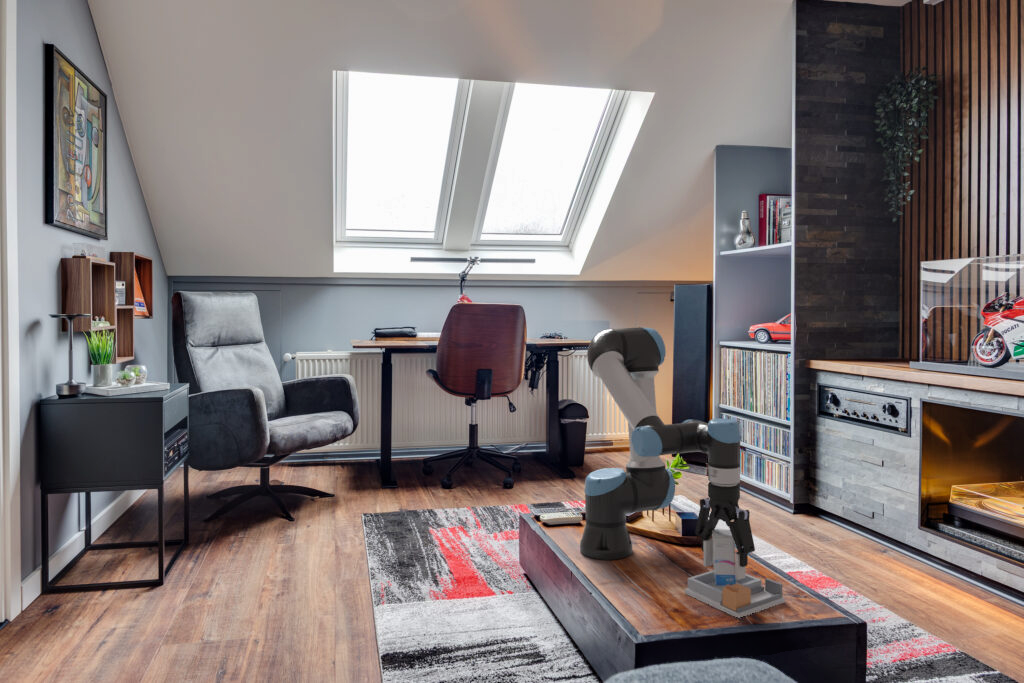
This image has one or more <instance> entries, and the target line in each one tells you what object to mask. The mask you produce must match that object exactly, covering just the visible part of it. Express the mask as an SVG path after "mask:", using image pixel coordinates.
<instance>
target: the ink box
mask: <svg viewBox="0 0 1024 683" xmlns="http://www.w3.org/2000/svg"><path fill="white" fill-rule="evenodd" d="M711 537H712V538H711V539H712V540H713V565H712V566H713V570H714V578H715V583H716V586H726V585H727V584H729V585H734V584H736V579H735V553H736V552H735V549H736V548H735V542H734V539H733V537H732V534H731V531H730V529H721V528H720V529H719V528H717V529H716V528H715V529H714V530H712V535H711Z"/></svg>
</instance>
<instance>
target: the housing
mask: <svg viewBox="0 0 1024 683" xmlns="http://www.w3.org/2000/svg"><path fill="white" fill-rule="evenodd" d="M737 583H738V584H740V585H742V586H745V587H747V588H750V589H751V604H748V605H746V606H743V607H740V608H737V611H735V610H733V609H730V608H728V607H726V606H724V605H722V588H724V587H726V586H716V583H715V578H714V569H713V570H710V571H707V572H702V573H699V574H697V575H692V576H690V577H687V587H686V588H684V594H685V595H687V596H690V597H691V598H694V599H695V598H696V599H695V600H698V601H700V602H702V603H704V604H707V605H708V604H709V605H708V606H711V607H713V608H715V609H717V610H720V611H721V612H723V613H725V612H726V614H728V615H730V616H732V617H734V616H735V617H734V618H736V617H738V618H740V617H743V616H746V615H748V616H750V614H751V615H753V614H752V613H754V614H756V613H759V612H761V610H762V611H764V609H765V610H767V609H769V607H770V608H773V607H775V605H776V606H778V605H781V604H784V603H785V602H786V596H783V583H781V582H779V581H776V580H773V579H771V578H768V577H767V578H765V579H764V586H763V584H762V583H763V580H762V579H760V578H758V577H755V576H753V575H750V574H748V573H746V572H745V578H743V579H740V580H736V584H737ZM772 606H773V607H772ZM755 612H756V613H755ZM746 617H747V616H746ZM738 618H737V619H738ZM743 618H744V617H743ZM740 619H741V618H740Z"/></svg>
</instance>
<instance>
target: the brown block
mask: <svg viewBox="0 0 1024 683" xmlns="http://www.w3.org/2000/svg"><path fill="white" fill-rule="evenodd" d="M748 604H751V589H750V588H747V587H745V586H742V585H740V584H738V583H737V584H734V585H729V584H727V585H726V587H724V588H722V605H724V606H726V607H728V608H730V609H733V610H735V611H737V608H740V607H743V606H746V605H748Z"/></svg>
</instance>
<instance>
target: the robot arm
mask: <svg viewBox="0 0 1024 683" xmlns="http://www.w3.org/2000/svg"><path fill="white" fill-rule="evenodd" d="M666 352H667V351H666V345H665V341H664V339H663V337H662V335H661V334H660V333H659V332H658V331H657V330H656V329H655V328H651V327H643V326H642V327H625V328H624V327H623V328H607V329H604V330H601V331H599V332H598V333H597V334H596V335H595V336H594V337H593V338H592V339H591V341H590V343H589V344H588V347H587V352H586V353H587V354H586V356H587V358H586V359H587V363H588V367H589V368H590V371H591V372H592V374H593V375H594V377H597V378H598V379H600V380H601V381H602V383H603V384H604V386H605V387H606V389H607V391H608V392H609V393H610V396H611V397H612V399H613V401H614V402H615V404H616V405H617V406H618V408H619V410H620V411H621V413H622V415H623V417H624V418H625V419H626V421H627V428H628V429H627V432H628V443H629V455H630V456H629V457H630V458H629V461H627V463H626V464H625V470H624V469H622V468H619V467H610V468H609V467H606V468H604V467H603V468H600V469H596V470H594V471H592V472H590V473H588V475H587V476H586V477H585V482H584V483H585V484H584V495H585V496H584V498H585V499H584V500H585V501H584V503H585V505H584V506H585V526H584V530H583V533H582V537H581V539H580V543H579V550H580V553H581V554H582V555H584V556H585V557H588V558H591V559H596V560H602V561H603V560H605V561H607V560H609V561H610V560H620V559H621V560H622V559H625V558H627V557H629V556H630V555H632V554H633V542H632V539H631V536H630V533H629V530H628V527H627V514H633V513H638V512H639V513H641V512H647V511H654V512H655V511H657V510H660V509H666V508H667V507H668V506H670V505H671V503H672V502H673V500H674V498H675V495H676V494H675V493H676V481H675V478H674V477H673V476H674V474H673V473H672V471H671V470H670V469H669V468H666V466H667V465H666V463H665V462H664V460H662V459H661V457H660V456H665V455H676V454H686V453H695V452H696V453H697V452H698V453H703V454H706V455H707V459H708V460H707V466H708V467H707V471H708V472H707V475H708V478H707V480H708V481H709V482H708V483H707V496H708V497H705V498H702V499H701V498H700V499H699V510H698V511H699V513H698V517H697V520H696V527H695V532H694V533H695V535H696V536H699V537H700V539H701V550H702V552H703V567H710V566H713V540H712V530H714V529H716V528H717V525H718V523H719V521H720V520H721V521H722V522H723V523H725V524H726V526H727V527H728V528H729V529H728V530H730V531H731V534H732V537H733V539H734V546H736V549H737V551H736V552H735V579H736V580H740V579H743V578H745V573H746V567H747V566H748V564H749V563H748V557H749V556H748V554H750V553H753V552H755V551H756V548H755V543H754V537H753V533H752V532H753V531H752V526H751V523H750V513H751V512H750V510H749V509H742V508H740V506H739V501H740V498H741V485H740V484H739V483H740V482H741V465H740V463H741V438H742V437H741V432H740V431H741V430H740V428H741V427H740V424H739V422H738V421H737V420H735V419H729V418H712V419H710V420H709V421H708V423H707V422H704V421H702V420H701V419H686V420H684V421H682V422H681V423H670V424H668V423H667V424H665V423H664V422H663V421H662V419H661V418H660V417H659V416H660V415H659V414H657V413H658V412H657V401H656V390H655V388H656V386H655V378H656V375H657V374H658V373H660V372H659V371H660V370H659V369H660V368H659V367H660V366H661V365H662V364H663V363H664V361H665V358H666Z"/></svg>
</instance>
